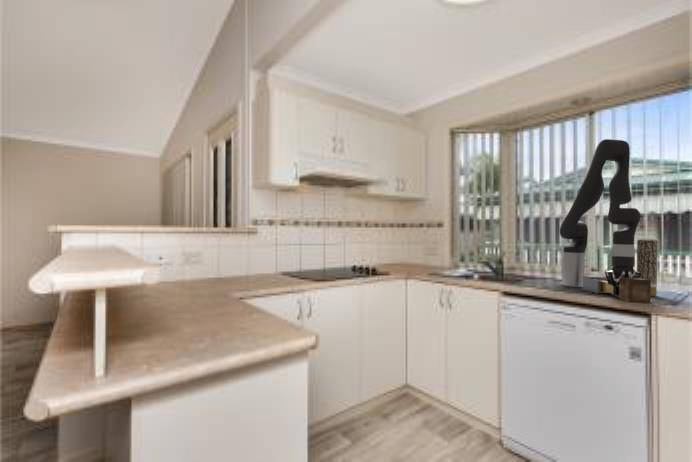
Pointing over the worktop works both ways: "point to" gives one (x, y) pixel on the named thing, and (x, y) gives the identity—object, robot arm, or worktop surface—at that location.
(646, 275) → the bark textured post
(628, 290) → the socket block
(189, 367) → the worktop surface
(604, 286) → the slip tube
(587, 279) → the grey multicoloured box
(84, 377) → the worktop surface
